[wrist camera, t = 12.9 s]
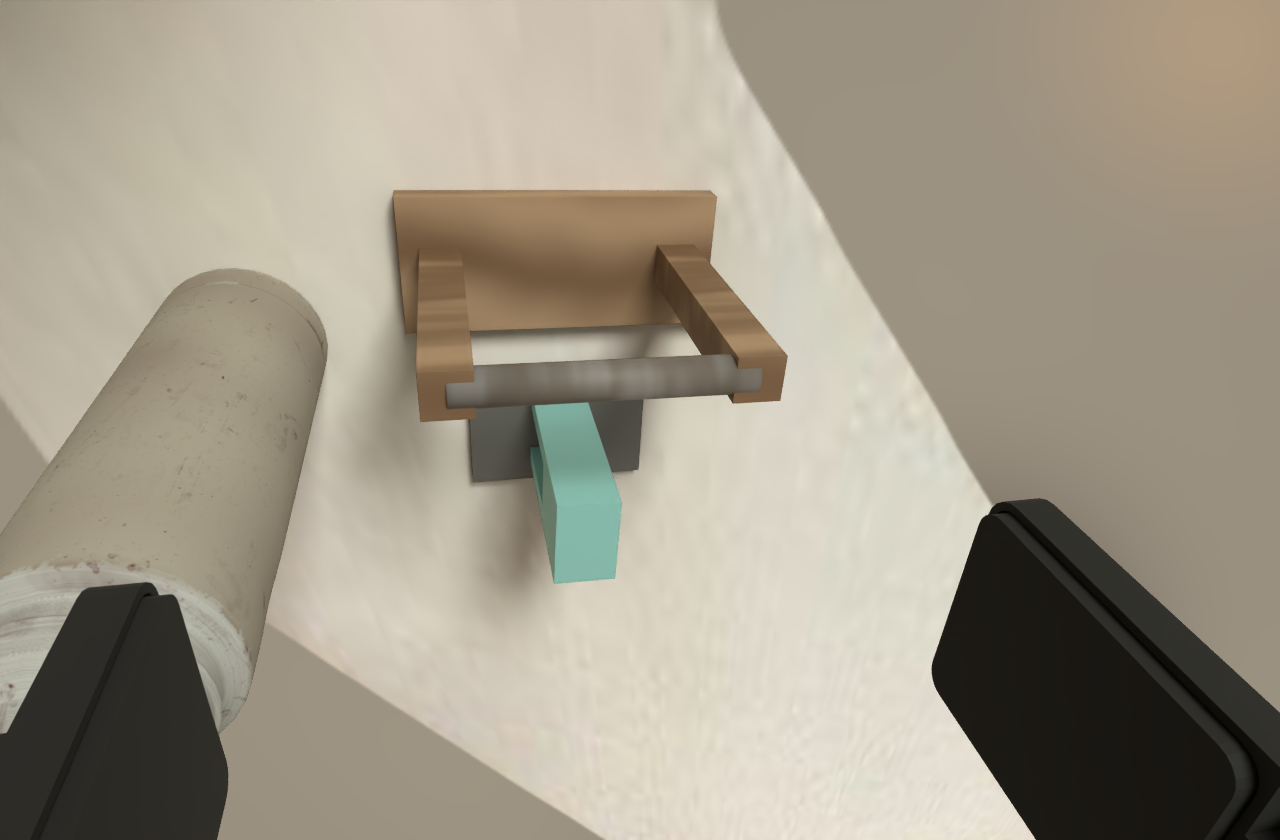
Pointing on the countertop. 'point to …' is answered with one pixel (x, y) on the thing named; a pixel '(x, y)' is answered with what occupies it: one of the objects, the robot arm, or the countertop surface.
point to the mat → (512, 433)
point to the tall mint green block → (575, 494)
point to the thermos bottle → (175, 482)
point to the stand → (571, 296)
